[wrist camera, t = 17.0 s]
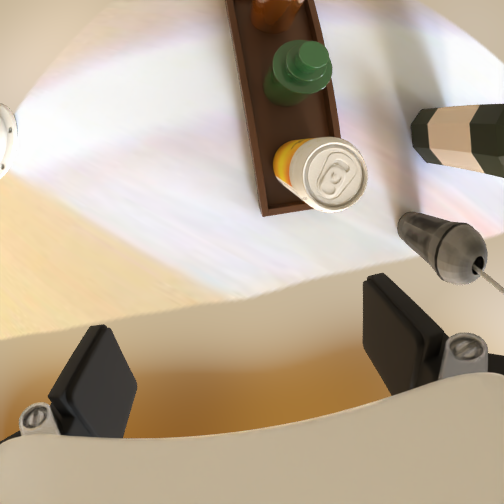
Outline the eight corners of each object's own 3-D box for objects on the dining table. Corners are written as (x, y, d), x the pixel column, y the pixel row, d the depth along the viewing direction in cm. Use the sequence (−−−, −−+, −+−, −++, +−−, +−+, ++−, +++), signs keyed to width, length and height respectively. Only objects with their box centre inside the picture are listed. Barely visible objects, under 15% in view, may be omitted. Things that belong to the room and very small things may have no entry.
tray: (260, 212, 39) (262, 216, 36) (224, -3, 29) (223, -12, 26) (341, 200, 39) (348, 203, 36) (304, -9, 29) (309, -17, 26)
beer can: (329, 157, 36) (385, 165, 22) (304, 198, 38) (346, 229, 24) (288, 130, 35) (323, 120, 21) (262, 172, 36) (281, 189, 22)
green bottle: (266, 109, 34) (285, 88, 21) (259, 67, 32) (273, 25, 19) (310, 105, 34) (353, 84, 21) (303, 63, 32) (340, 24, 19)
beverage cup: (423, 194, 39) (525, 234, 20) (433, 238, 41) (524, 294, 22) (383, 214, 40) (479, 268, 21) (396, 258, 42) (480, 329, 23)
